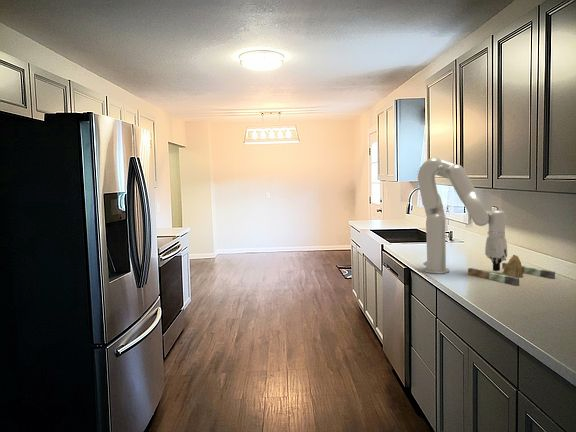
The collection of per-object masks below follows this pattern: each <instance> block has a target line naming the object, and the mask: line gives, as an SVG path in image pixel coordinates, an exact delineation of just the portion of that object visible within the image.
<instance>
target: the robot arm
mask: <svg viewBox="0 0 576 432" xmlns="http://www.w3.org/2000/svg"><path fill="white" fill-rule="evenodd" d="M436 176H439V177H441V178H443V179H447V180H449V181H450V183H451V185H452V186H453V188H454V190H455V192H456V194H457V196H458V197H459V199H460V201H461V203H462V204H463V205H464V207H465V208H466V211H467V213H468V214H469V216H470V218H471V220H472V222H473V223H474V225H475V226H478V227H483V226H486V225H488V231H487V234H488V236H487V237H486V240H485V247H484V248H485V249H484V250H485V251H484V255H485V256H486V257H487V258H488V259H490V260H491V263H492V271H493V272H499V271H501V264H502V263H503V262H505V261H507V257H508V243H507V238H506V212H505V211H504V210H500V209H499V210H496V209H495V210H487V209H485V206H484V205H483V203H482V202H481V199H480V198H479V196H478V192H477V191H476V188H475V186H474V185H473V183H472V181H471V180H470V178H469V176H468V173H466V170H465V169H464V167H463V166H462V165H460V164H456V163H452V162H450V161H445V160H443V159H440V158H438V157H430V158H429V159H427V160H426V161H424V162H423V163H422V164H421V166H420V168H419V170H418V173H417V183H418V188H419V192H420V197H421V204H422V206H423V208H424V212H425V216H426V220H425V230H426V231H425V232H426V235H425V236H426V261H425V262H423V263H422V265H423V266H425V268H424V269H423V272H424V273H427V274H437V275H438V274H439V275H440V274H448V273H449V272H450V268H447V258H446V257H447V256H446V255H447V249H446V247H447V246H446V244H447V243H446V214H445V210H444V206H443V203H442V202H443V201H442V198H441V196H440V194H439V192H438V189H437V183H436Z"/></svg>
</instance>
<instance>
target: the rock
mask: <svg viewBox="0 0 576 432" xmlns="http://www.w3.org/2000/svg"><path fill="white" fill-rule="evenodd" d="M507 263H508V264H507V265H506V266H505V268H504V269H503V271H502V274H503V275H504V274H505V275H506V276H510V277H515V278H523V277H524V276H523V275H524V273H523V270H522V266H523V265H522V262H521V260H520V258H519V256H518V255H516V254H513V255H512V256H511V257H510V259H509V260H508V262H507Z"/></svg>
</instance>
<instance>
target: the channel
mask: <svg viewBox="0 0 576 432" xmlns="http://www.w3.org/2000/svg"><path fill="white" fill-rule="evenodd" d="M507 264H508V262H501V269H502V270H504V268H505V266H506V265H507ZM522 270H523V274H527V275H531V276H537V277H542V278H546V279H556V271H551V270H547V269H540V268H536V267H530V266H525V265H522ZM467 274H468V275H470V276H475V277H479V278H483V279H486V280H490V281H495V282H500V283H504V284H508V285H512V286H515V287H516V286H520V277H516V276H511V275H506V274H505V275H504V274H501V273H497V272H496V273H495V272H491V271H487V270H482V269H476V268H473V267H469V268H468V269H467Z"/></svg>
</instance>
